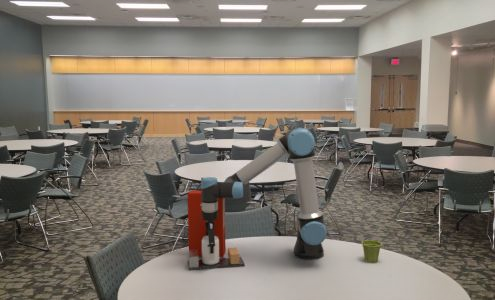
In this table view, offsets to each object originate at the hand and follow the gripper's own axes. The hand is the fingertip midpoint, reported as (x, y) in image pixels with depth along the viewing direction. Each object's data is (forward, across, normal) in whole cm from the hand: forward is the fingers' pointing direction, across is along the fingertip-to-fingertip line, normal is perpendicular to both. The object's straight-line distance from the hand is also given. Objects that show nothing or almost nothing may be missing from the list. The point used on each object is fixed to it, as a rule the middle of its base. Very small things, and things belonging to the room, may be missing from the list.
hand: (210, 254), depth 220 cm
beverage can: (+4, 0, 0) cm, 4 cm away
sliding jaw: (+3, 0, +11) cm, 12 cm away
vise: (+5, 0, +2) cm, 6 cm away
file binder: (+5, -15, 0) cm, 16 cm away
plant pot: (+5, +9, +76) cm, 77 cm away
